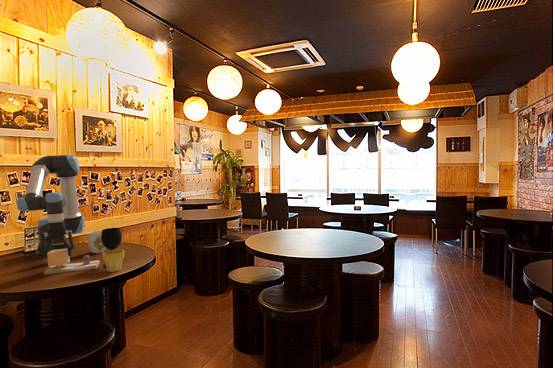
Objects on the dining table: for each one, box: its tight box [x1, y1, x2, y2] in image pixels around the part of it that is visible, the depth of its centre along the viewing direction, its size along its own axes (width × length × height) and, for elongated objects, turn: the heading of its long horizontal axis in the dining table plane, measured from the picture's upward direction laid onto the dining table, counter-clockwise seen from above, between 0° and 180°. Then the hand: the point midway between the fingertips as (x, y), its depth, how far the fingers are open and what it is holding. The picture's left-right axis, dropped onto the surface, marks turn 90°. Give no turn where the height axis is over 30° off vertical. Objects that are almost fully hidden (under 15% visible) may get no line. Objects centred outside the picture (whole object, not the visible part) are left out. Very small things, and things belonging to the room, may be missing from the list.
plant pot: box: [102, 249, 125, 273], centre depth 178 cm, size 10×10×10 cm
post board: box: [43, 254, 101, 276], centre depth 184 cm, size 12×24×6 cm, turn 109°
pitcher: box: [82, 230, 107, 254], centre depth 219 cm, size 11×18×14 cm, turn 137°
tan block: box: [47, 249, 68, 268], centre depth 182 cm, size 8×8×7 cm
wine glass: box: [101, 227, 124, 268], centre depth 188 cm, size 10×10×20 cm
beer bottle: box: [52, 235, 68, 250], centre depth 200 cm, size 8×8×24 cm
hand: (59, 263), depth 182 cm, fingers closed on tan block, 8 cm apart
